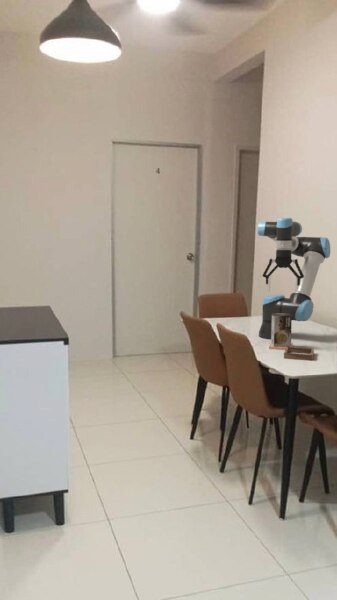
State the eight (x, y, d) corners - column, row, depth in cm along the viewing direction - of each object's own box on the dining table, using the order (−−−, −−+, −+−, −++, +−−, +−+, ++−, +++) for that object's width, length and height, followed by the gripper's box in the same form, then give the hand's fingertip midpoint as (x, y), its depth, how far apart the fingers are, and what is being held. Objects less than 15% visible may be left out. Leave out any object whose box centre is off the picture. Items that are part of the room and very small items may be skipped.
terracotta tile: (271, 343, 272) (271, 341, 272) (292, 345, 268) (292, 343, 268) (268, 348, 261) (268, 346, 261) (291, 350, 258) (291, 348, 258)
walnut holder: (286, 351, 256) (286, 346, 255) (313, 353, 252) (313, 348, 252) (283, 358, 244) (284, 353, 243) (312, 360, 240) (312, 355, 239)
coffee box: (288, 343, 268) (289, 312, 266) (291, 346, 262) (292, 315, 259) (270, 343, 268) (271, 313, 265) (273, 346, 262) (274, 315, 259)
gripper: (257, 249, 257) (256, 291, 261) (309, 250, 250) (307, 293, 253) (259, 248, 264) (258, 289, 268) (310, 249, 257) (308, 291, 260)
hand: (282, 291), depth 261 cm, fingers open, 13 cm apart
